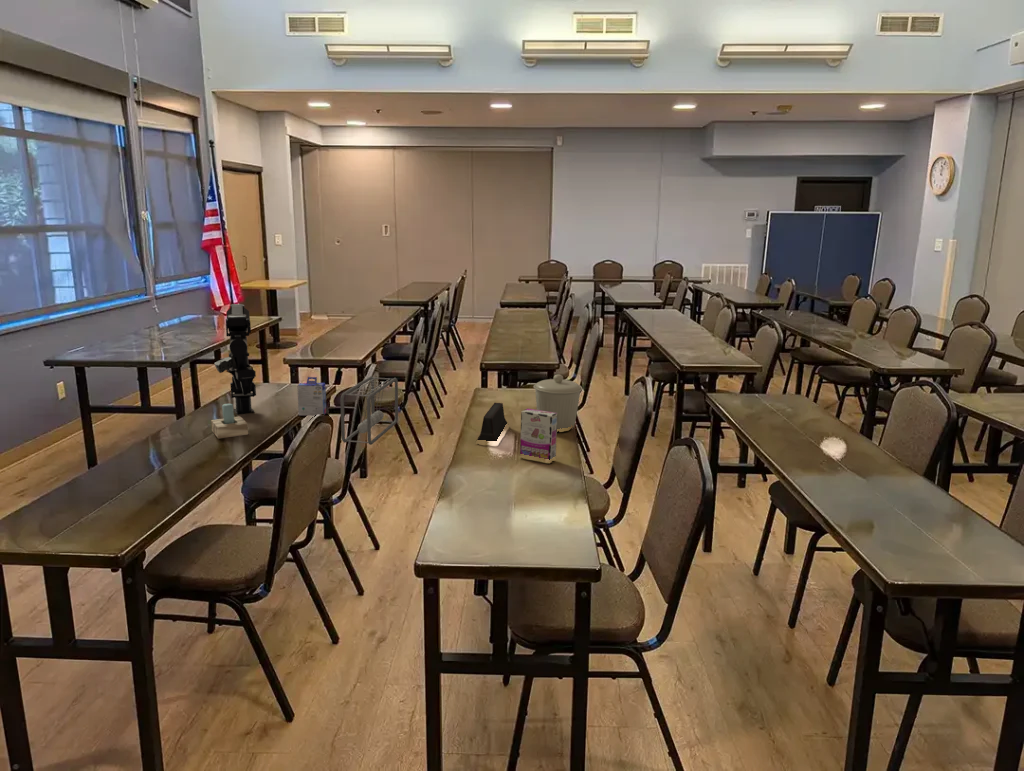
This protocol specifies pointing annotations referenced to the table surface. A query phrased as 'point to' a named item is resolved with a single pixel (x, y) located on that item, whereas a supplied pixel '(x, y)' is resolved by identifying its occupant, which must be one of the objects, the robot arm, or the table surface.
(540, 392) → the canister
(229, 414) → the pin
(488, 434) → the barrier
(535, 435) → the candy bar box
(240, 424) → the jig block
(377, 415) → the cube frame
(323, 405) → the ink cartridge box
